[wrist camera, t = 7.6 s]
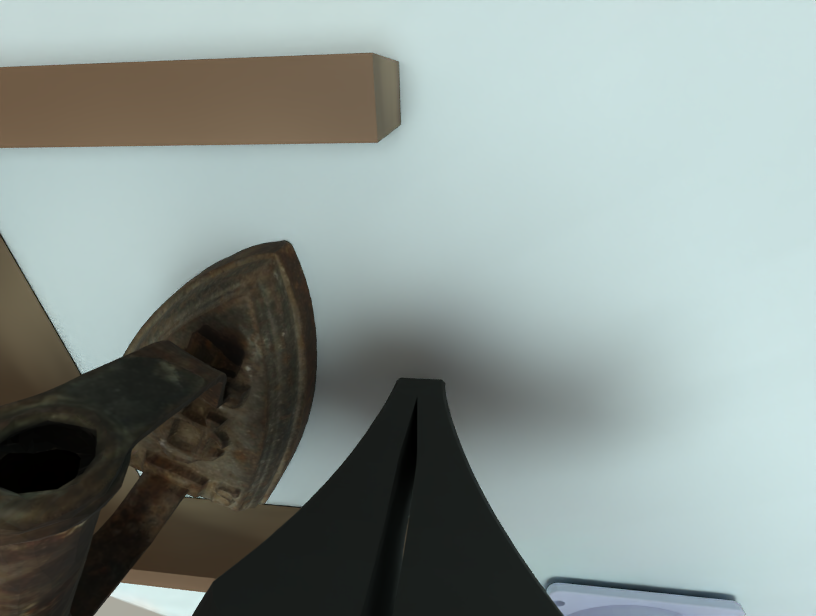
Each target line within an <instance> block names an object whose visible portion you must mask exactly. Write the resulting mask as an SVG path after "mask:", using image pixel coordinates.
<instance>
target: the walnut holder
mask: <svg viewBox="0 0 816 616" xmlns="http://www.w3.org/2000/svg"><path fill="white" fill-rule="evenodd" d="M400 125H401V113H400V82H399V62H398V61H395V60H392V59H389V58H386V57H383V56H380V55H377V54H374V53H353V54H327V55H302V56H276V57H251V58H225V59H199V60H174V61H148V62H122V63H97V64H71V65H45V66H20V67H0V148H27V147H98V146H169V145H241V144H312V143H378V142H379V141H380V140H382V139H383V138H384V137H385V136H387V135H388V134H389V133H391V132H392V131H393V130H394V129H396V128H397V127H398V126H400ZM78 376H80V373H79V371H78V369H77V368H76V366H75V364H74V362H73V361H72V359H71V357H70V356H69V354H68V352H67V350H66V349H65V347H64V345H63V343H62V342H61V340H60V338H59V336H58V335H57V333H56V331H55V330H54V328H53V326H52V324H51V323H50V321H49V319H48V317H47V316H46V314H45V312H44V311H43V309H42V307H41V305H40V304H39V302H38V300H37V298H36V297H35V295H34V293H33V292H32V290H31V288H30V286H29V285H28V283H27V281H26V279H25V278H24V276H23V274H22V273H21V271H20V269H19V267H18V266H17V264H16V262H15V260H14V259H13V257H12V255H11V253H10V252H9V250H8V248H7V247H6V245H5V243H4V241H3V240H2V238H1V236H0V406H2V405H6V404H9V403H12V402H15V401H19V400H22V399H25V398H28V397H31V396H35V395H37V394H40V393H43V392H46V391H48V390H50V389H53V388H55V387H57V386H59V385H62V384H64V383H66V382H68V381H70V380H72V379H74V378H76V377H78ZM138 479H139V475H138V473H137V471H136V470H135V468H133V467H131V466H129V467H128V470H127V472H126V475H125V478H124V481H123V484H122V487H121V488H120V489H119V490H118V492H117V493H116V494H115V495H114V496H113V498H112V499H111V500H110V501H109V502H108V503H107V505H106V506H105V507H103V508H102V509H101V511H100V514H99V517H98V521H97V523H96V526H95V529H94V533H93V535H94V534H95V533H96V532H97V531H98V530H99V529H100V528H101V527H102V526H103V524H104V523H105V522H106V521H107V520H108V519H109V518H110V517H111V515H112V514H113V513H114V512H115V510H116V509H117V508H118V507H119V505H120V504H121V503H122V501H123V500H124V499H125V497H126V496H127V494H128V493H129V492H130V490H131V489H132V487H133V486H134V485H135V483H136V482H137V480H138ZM299 509H301V508H296V507H285V506H274V505H262V504H258V505H257V506H256V507H255V508H254V509H246V510H244V511H238V512H235V511H233V510H231V509H229V508H226V507H224V506H222V505H220V504H217V503H214V502H211V501H210V500H207V499H195V498H183V500H182V501H181V502H180V504H179V505H178V507H177V508H176V509H175V511H174V512H173V514H172V515H171V517H170V518H169V519H168V521H167V522H166V524H165V525H164V526H163V528H162V529H161V530H160V532H159V533H158V535H157V536H156V538H155V539H154V541H153V542H152V544H151V545H150V546H149V547H148V549H147V550H146V551H145V552H144V554H143V555H142V556H141V557H140V559H139V560H138V561H137V562H136V564H135V565H134V566H133V567H132V568H131V570H130V571H129V572H128V573H127V575H126V576H125V577H124V579H123V580H122V581H121V583H129V584H138V585H147V586H155V587H164V588H172V589H181V590H190V591H198V592H207V590H208V589H209V587H210V585H211V584H212V582H213V581H214V580H215V579H217V578H218V577H219V576H221V575H222V574H223V573H225V572H226V571H227V570H228V569H230V568H231V567H232V566H234V565H235V564H236V563H237V562H239V561H240V560H241V559H243V558H244V557H245V556H246V555H248V554H249V553H250V552H251V551H253V550H254V549H255V548H257V547H258V546H259V545H260V544H261V543H263V542H264V541H265V540H266V539H267V538H268V537H270V536H271V535H272V534H273V533H274V532H275V531H276V530H277V529H278V528H280V527H281V526H282V525H283V524H284V523H285V522H286V521H287V520H289V519H290V518H291V517H292V516H293V515H294V514H295V513H296V512H297V511H298V510H299ZM408 521H409V520H408ZM407 528H408V525H407ZM406 535H407V530H406ZM405 541H406V536H405ZM404 547H405V543H404ZM403 553H404V550H403ZM402 560H403V559H402Z"/></svg>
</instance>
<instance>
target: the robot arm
mask: <svg viewBox="0 0 816 616" xmlns="http://www.w3.org/2000/svg"><path fill="white" fill-rule="evenodd" d="M408 520H409V521H408ZM407 525H408V528H407ZM406 530H407V535H406ZM405 536H406V541H405ZM404 543H405V547H404ZM403 550H404V553H403ZM402 559H403V560H402ZM745 615H746V614H745V612H744V610H743V608H742V606H741V605H740V604H739V603H738V602H736V601H732V600H723V599H713V598H703V597H693V596H684V595H674V594H664V593H655V592H645V591H635V590H626V589H616V588H606V587H596V586H587V585H577V584H567V583H553V584H551V585H549V587H548V588H547V591H545V590H544V588H543V587H542V585H541V584H540V583H539V581H538V580H537V579H536V577H535V576H534V574H533V573H532V571H531V570H530V568H529V567H528V566H527V564H526V563H525V561H524V560H523V558H522V557H521V555H520V554H519V552H518V551H517V549H516V548H515V546H514V544H513V543H512V541H511V540H510V538H509V536H508V535H507V533H506V532H505V530H504V528H503V527H502V525H501V524H500V522H499V520H498V519H497V517H496V515H495V514H494V512H493V510H492V508H491V506H490V505H489V503H488V501H487V499H486V497H485V496H484V494H483V492H482V490H481V488H480V486H479V484H478V482H477V480H476V478H475V476H474V474H473V472H472V469H471V467H470V465H469V463H468V460H467V458H466V456H465V454H464V451H463V449H462V446H461V444H460V441H459V438H458V436H457V433H456V430H455V427H454V424H453V421H452V418H451V415H450V411H449V407H448V403H447V398H446V392H445V383H444V382H443V381H442V380H437V379H415V378H400V379H398V380H397V381H396V384H395V386H394V388H393V390H392V392H391V394H390V395H389V397H388V399H387V401H386V403H385V404H384V406H383V408H382V409H381V411H380V412H379V414H378V416H377V417H376V419H375V420H374V422H373V423H372V425H371V426H370V428H369V429H368V431H367V432H366V434H365V435H364V436H363V438H362V439H361V440H360V442H359V443H358V444H357V446H356V447H355V448H354V450H353V451H352V452H351V454H350V455H349V456H348V457H347V459H346V460H345V461H344V462H343V464H342V465H341V466H340V467H339V468H338V470H337V471H336V472H335V473H334V474H333V475H332V476H331V477H330V479H329V480H328V481H327V482H326V483H325V484H324V485H323V486H322V487H321V488H320V489H319V490H318V491H317V492H316V493H315V494H314V495H313V497H312V498H311V499H310V500H309V501H308V502H307V503H306V504H305V505H304V506H303V507H302V508H301V509H299V510H298V511H297V512H296V513H295V514H294V515H293V516H292V517H291V518H290V519H289V520H287V521H286V522H285V523H284V524H283V525H282V526H281V527H280V528H278V529H277V530H276V531H275V532H274V533H273V534H272V535H271V536H270V537H268V538H267V539H266V540H265V541H264V542H263V543H261V544H260V545H259V546H258V547H257V548H255V549H254V550H253V551H251V552H250V553H249V554H248V555H246V556H245V557H244V558H243V559H241V560H240V561H239V562H237V563H236V564H235V565H234V566H232V567H231V568H230V569H228V570H227V571H226V572H225V573H223V574H222V575H221V576H219V577H218V578H217V579H215V580H214V581H213V582H212V584H211V585H210V587H209V589H208V590H207V592H206V594H205V595H204V597H203V599H202V600H201V602H200V603H199V605H198V607H197V608H196V610H195V612H194V613H193V615H192V616H745Z"/></svg>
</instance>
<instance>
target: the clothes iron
mask: <svg viewBox="0 0 816 616" xmlns="http://www.w3.org/2000/svg"><path fill="white" fill-rule="evenodd" d="M316 342H317V339H316V327H315V321H314V313H313V307H312V301H311V297H310V294H309V289H308V286H307V283H306V278H305V276H304V273H303V270H302V267H301V265H300V262H299V260H298V258H297V256H296V253H295V250H294V249H293V247H292V245H291V244H290V243H288V242H287V241H281V242H273V243H264V244H260V245H256V246H252V247H249V248H247V249H244V250H242V251H240V252H238V253H236V254H234V255H232V256H230V257H228V258H225V259H223V260H221V261H219V262H217V263H215V264H213V265H212V266H210V267H208V268H207V269H205V270H204V271H203V272H201V273H200V274H198V275H197V276H196V277H194V278H193V279H191V280H190V281H189V282H187V283H186V284H185V285H184V286H182V287H181V288H180V289H179V290H178V291H177V292H176V293H175V294H173V295H172V296H171V297H170V298H169V299H168V300H167V301H166V302H165V303H164V304H162V305H161V306H160V307H159V308H158V309H157V310H156V311H155V312H154V313H153V315H152V316H151V317H150V318H149V319H148V320H147V322H146V323H145V324H144V325H143V326H142V327H141V329H140V330H139V332H138V333H137V335H136V336H135V337H134V339H133V340H132V342H131V343H130V345H129V347H128V348H127V350H126V351H125V353H124V355H123V357H121V358H119V359H116V360H114V361H112V362H110V363H107V364H105V365H103V366H101V367H98V368H96V369H94V370H91V371H89V372H87V373H84V374H82V375H80V376H78V377H76V378H74V379H72V380H70V381H68V382H66V383H64V384H62V385H59V386H57V387H55V388H53V389H50V390H48V391H46V392H43V393H40V394H37V395H35V396H31V397H28V398H25V399H22V400H19V401H15V402H12V403H9V404H6V405H2V406H0V616H93V615H94V614H95V613H96V612H97V611H98V609H99V608H100V607H101V606H102V604H103V603H104V602H105V601H106V599H107V598H108V597H109V596H110V595H111V593H112V592H113V591H114V590H115V589H116V587H117V586H118V585H119V584H120V582H121V581H122V580H123V579H124V577H125V576H126V575H127V573H128V572H129V571H130V570H131V568H132V567H133V566H134V565H135V564H136V562H137V561H138V560H139V559H140V557H141V556H142V555H143V554H144V552H145V551H146V550H147V549H148V547H149V546H150V545H151V544H152V542H153V541H154V539H155V538H156V536H157V535H158V533H159V532H160V530H161V529H162V528H163V526H164V525H165V524H166V522H167V521H168V519H169V518H170V517H171V515H172V514H173V512H174V511H175V509H176V508H177V507H178V505H179V504H180V502H181V501H182V500H183V498H184V497H185V495H186V494H188V495H190V496H193V497H195V498H196V497H199V496H201V497H203V498H206V499H208V500H210V501H211V502H214V503H217V504H220V505H222V506H224V507H226V508H229V509H231V510H233V511H235V512H238V511H244V510H246V509H254V508H255V507H256V506H257V505H258V504H259V503H260V504H262V505H264V504H265V503H266V501H267V500H268V498H269V497H270V495H271V493H272V492H273V490H274V488H275V487H276V485H277V483H278V482H279V480H280V478H281V477H282V475H283V473H284V471H285V470H286V468H287V466H288V464H289V463H290V461H291V459H292V457H293V455H294V453H295V451H296V449H297V446H298V444H299V442H300V440H301V438H302V435H303V432H304V429H305V426H306V424H307V421H308V417H309V414H310V410H311V406H312V401H313V396H314V390H315V382H316V370H317V349H316ZM129 466H131V467H133V468H135V469H138V470H140V471H142V472H143V473H142V475H141V476H140V477H139V479H138V480H137V482H136V483H135V485H134V486H133V487H132V489H131V490H130V492H129V493H128V494H127V496H126V497H125V499H124V500H123V501H122V503H121V504H120V505H119V507H118V508H117V509H116V510H115V512H114V513H113V514H112V515H111V517H110V518H109V519H108V520H107V521H106V522H105V523H104V524H103V526H102V527H101V528H100V529H99V530H98V531H97V532H96V533H95V534H94V535H93V533H94V529H95V526H96V523H97V521H98V517H99V514H100V511H101V509H102V508H103V507H105V506H106V505H107V503H108V502H109V501H110V500H111V499H112V498H113V496H114V495H115V494H116V493H117V492H118V490H119V489H120V488H121V487H122V484H123V481H124V478H125V475H126V472H127V470H128V467H129Z"/></svg>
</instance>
